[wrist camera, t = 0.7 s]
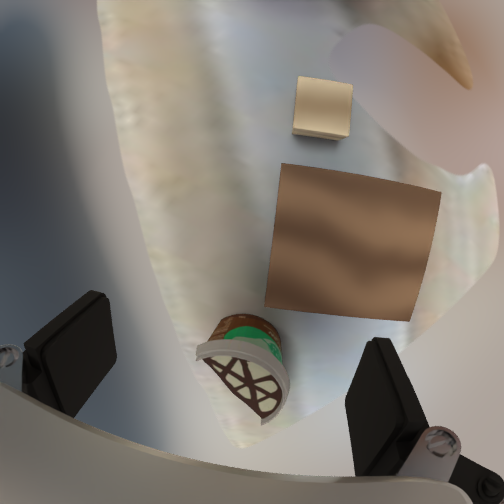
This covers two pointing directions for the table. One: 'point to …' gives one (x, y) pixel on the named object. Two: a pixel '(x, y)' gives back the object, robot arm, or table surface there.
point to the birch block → (322, 108)
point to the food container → (249, 362)
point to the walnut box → (349, 244)
